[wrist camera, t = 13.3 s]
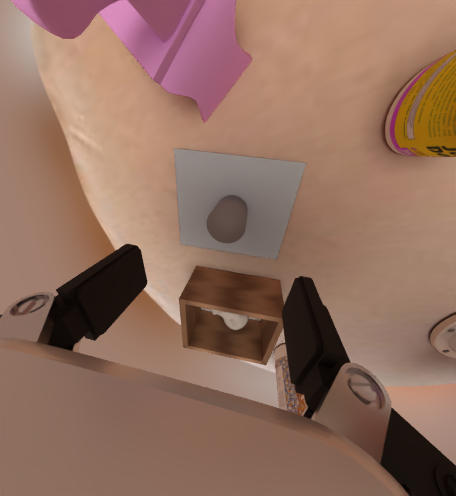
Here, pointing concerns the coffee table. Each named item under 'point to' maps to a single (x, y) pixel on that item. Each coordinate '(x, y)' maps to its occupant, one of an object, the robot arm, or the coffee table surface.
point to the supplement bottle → (426, 112)
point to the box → (232, 301)
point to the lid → (235, 201)
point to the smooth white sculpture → (232, 319)
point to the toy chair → (161, 39)
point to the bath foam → (287, 384)
